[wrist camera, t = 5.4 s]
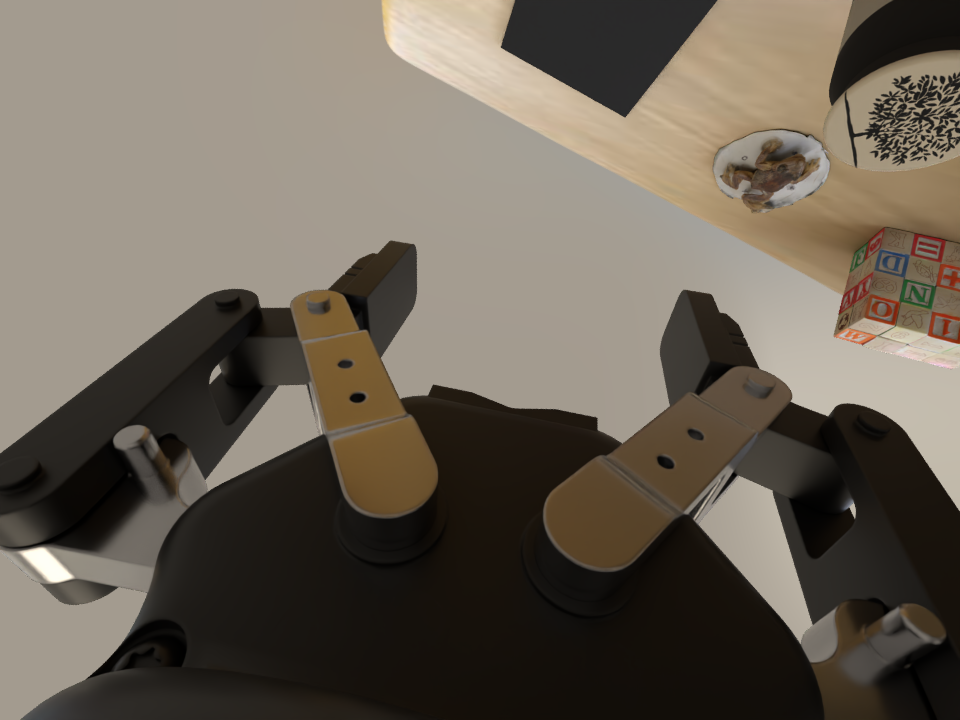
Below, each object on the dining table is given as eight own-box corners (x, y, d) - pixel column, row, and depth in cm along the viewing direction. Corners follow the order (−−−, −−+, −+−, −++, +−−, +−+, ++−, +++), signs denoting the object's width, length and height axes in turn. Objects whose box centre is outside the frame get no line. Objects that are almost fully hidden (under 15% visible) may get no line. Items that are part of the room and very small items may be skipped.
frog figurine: (758, 109, 45) (748, 139, 44) (863, 159, 46) (855, 189, 45) (691, 175, 56) (683, 200, 55) (776, 214, 57) (769, 240, 56)
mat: (578, -202, 30) (575, -196, 30) (772, -74, 32) (770, -68, 32) (502, 43, 49) (500, 47, 49) (626, 113, 52) (625, 117, 51)
